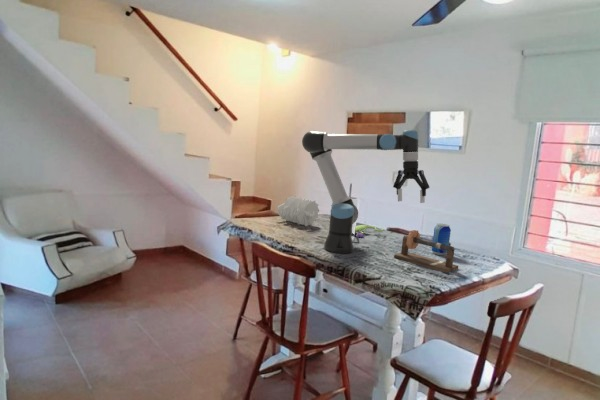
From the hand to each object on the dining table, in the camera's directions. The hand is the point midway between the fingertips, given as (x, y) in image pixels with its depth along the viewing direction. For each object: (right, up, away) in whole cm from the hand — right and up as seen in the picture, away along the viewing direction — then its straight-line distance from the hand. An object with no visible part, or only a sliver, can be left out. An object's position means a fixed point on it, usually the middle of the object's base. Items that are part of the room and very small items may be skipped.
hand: (410, 202), depth 222 cm
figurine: (-19, -21, +45) cm, 53 cm away
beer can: (+18, -28, +11) cm, 35 cm away
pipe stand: (+4, -30, -12) cm, 32 cm away
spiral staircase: (-59, -15, +61) cm, 86 cm away
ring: (-1, -23, -7) cm, 24 cm away
